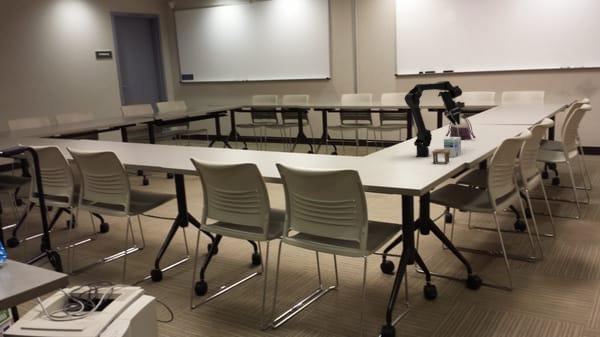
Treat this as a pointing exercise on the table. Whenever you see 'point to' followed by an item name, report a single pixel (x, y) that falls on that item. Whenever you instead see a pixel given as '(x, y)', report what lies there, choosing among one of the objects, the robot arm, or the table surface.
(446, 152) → the walnut stool
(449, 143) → the light bulb box
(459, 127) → the pouch
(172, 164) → the table surface
